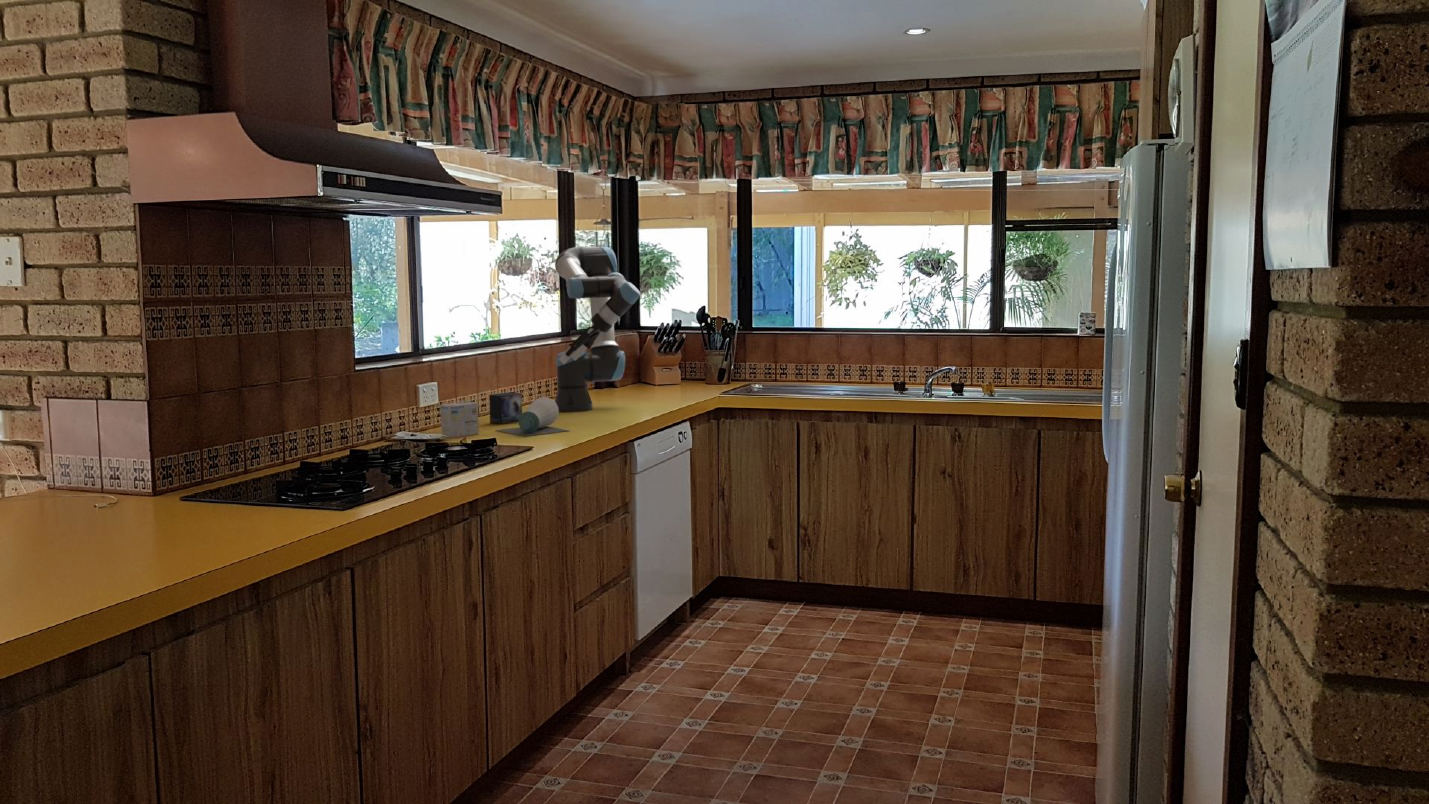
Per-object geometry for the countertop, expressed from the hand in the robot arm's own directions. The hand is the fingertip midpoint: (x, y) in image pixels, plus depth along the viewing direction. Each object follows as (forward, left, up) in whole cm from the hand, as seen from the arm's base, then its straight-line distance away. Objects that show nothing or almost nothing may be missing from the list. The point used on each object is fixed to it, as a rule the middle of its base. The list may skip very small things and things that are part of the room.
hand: (567, 359), depth 392 cm
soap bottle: (+17, +12, -16) cm, 26 cm away
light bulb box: (+48, +9, -22) cm, 54 cm away
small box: (+21, -8, -22) cm, 32 cm away
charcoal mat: (+27, +19, -22) cm, 39 cm away
